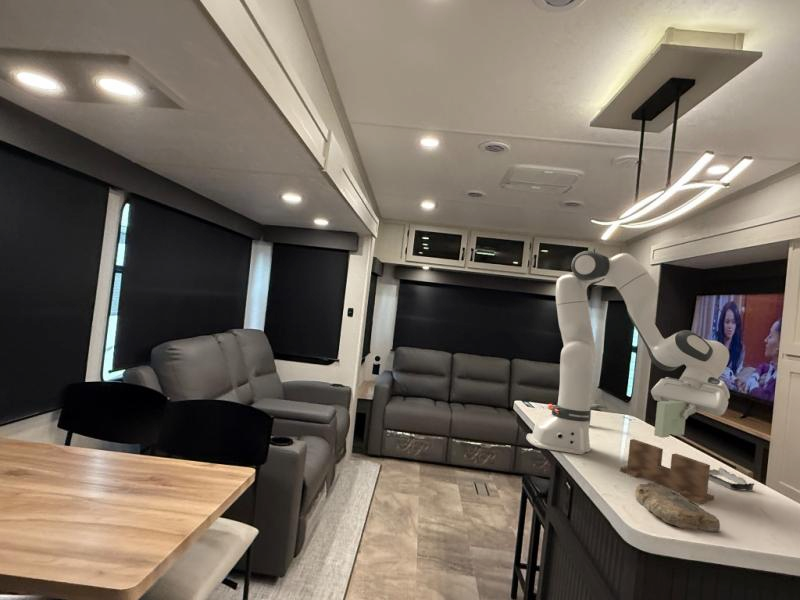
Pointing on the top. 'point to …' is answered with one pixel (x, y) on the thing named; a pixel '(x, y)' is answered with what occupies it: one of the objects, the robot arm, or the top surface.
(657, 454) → the walnut slotted board
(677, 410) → the green slotted plate
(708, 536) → the top surface
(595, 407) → the inkwell
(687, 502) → the brown rock
